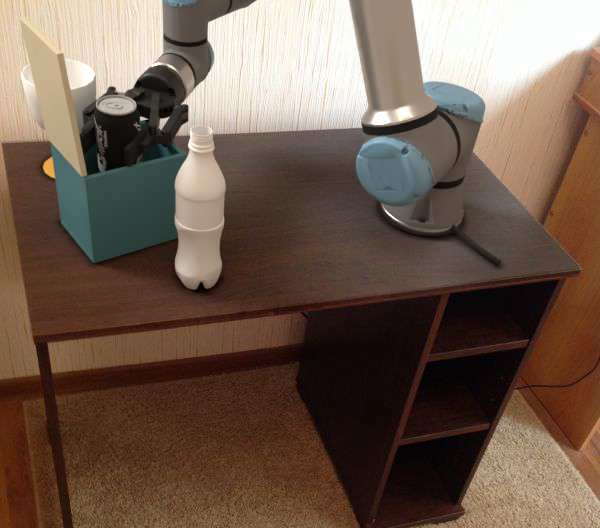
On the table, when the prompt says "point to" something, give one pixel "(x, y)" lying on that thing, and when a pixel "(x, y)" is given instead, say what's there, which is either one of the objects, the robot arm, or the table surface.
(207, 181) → the water bottle
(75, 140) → the cooler lid
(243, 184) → the table surface
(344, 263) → the table surface
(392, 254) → the table surface
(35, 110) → the cup
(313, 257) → the table surface
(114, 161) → the beverage can
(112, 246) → the box
